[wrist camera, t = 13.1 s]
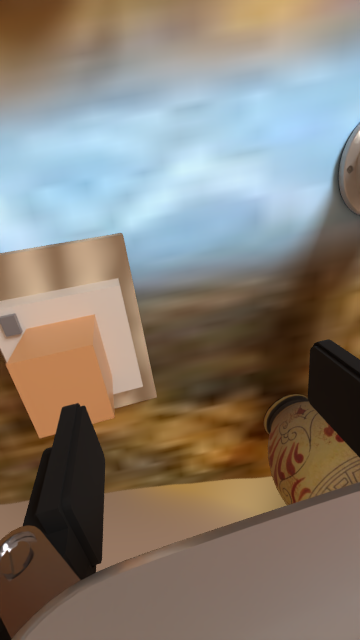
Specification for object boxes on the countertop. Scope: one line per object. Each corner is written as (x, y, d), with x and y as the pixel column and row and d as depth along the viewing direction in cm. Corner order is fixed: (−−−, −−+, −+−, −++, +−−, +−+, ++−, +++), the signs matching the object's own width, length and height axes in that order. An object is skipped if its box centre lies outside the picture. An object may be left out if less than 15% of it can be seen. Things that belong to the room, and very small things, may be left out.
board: (121, 232, 32) (122, 234, 31) (154, 388, 42) (156, 397, 40) (-33, 258, 30) (-41, 262, 28) (39, 419, 39) (36, 429, 37)
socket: (118, 278, 32) (120, 286, 29) (140, 373, 38) (143, 389, 34) (-6, 302, 30) (-19, 314, 27) (36, 399, 35) (30, 419, 32)
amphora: (298, 457, 56) (477, 693, 29) (227, 447, 50) (371, 733, 23) (347, 383, 51) (614, 585, 25) (275, 362, 45) (526, 599, 19)
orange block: (95, 307, 32) (92, 344, 24) (111, 367, 35) (114, 417, 27) (30, 321, 31) (5, 364, 23) (54, 381, 34) (39, 438, 26)
